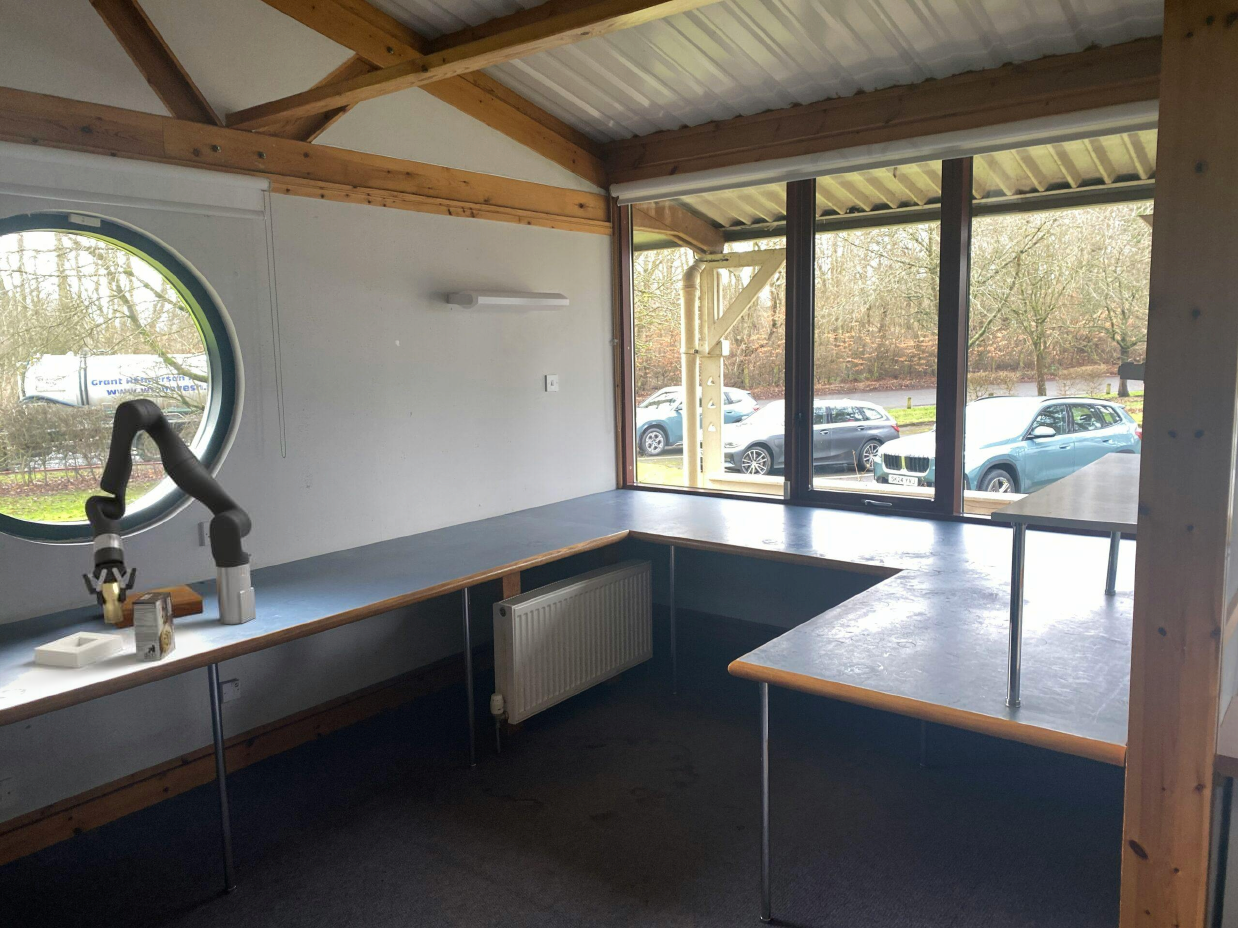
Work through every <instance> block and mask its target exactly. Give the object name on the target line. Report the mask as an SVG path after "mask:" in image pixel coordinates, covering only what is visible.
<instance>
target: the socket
mask: <svg viewBox="0 0 1238 928" xmlns="http://www.w3.org/2000/svg"><path fill="white" fill-rule="evenodd" d="M123 646H124V644H123V637H122V635H118V634H109V633H100V632H99V633H97V632H87V631H86V632H85V631H79V632H77V633H73V634H70V635H68V636H65V637H62V638H60V639H57V640H53V641H52V642H48V643H46V644H43V645H41V646H38V647H35V648H33V651H34V661H35V662H34V663H35V665H36V664H38V665H46V666H54V667H55V666H56V667H65V668H72V669H74V668H75V669H80V668H82V667H85V666H88V665H89V664H92V663H94V662H97V661H100V660H102V659H105V658H107V657H110V656H112V655H114V654H117V653H119V652H122V651H123V650H124V647H123Z"/></svg>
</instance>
